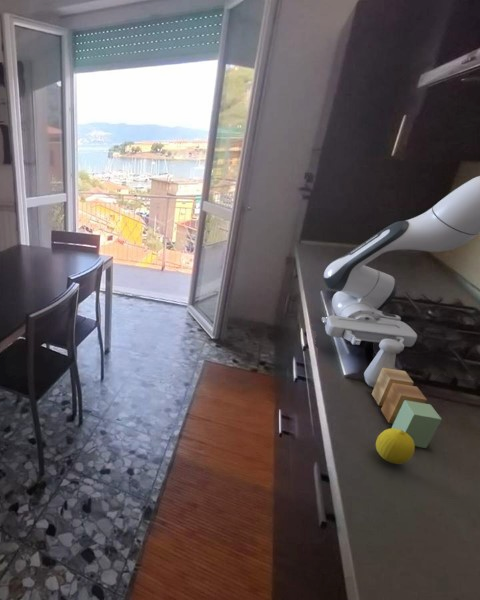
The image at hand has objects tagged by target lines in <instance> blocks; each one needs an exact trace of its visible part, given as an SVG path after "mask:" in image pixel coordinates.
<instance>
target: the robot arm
mask: <svg viewBox="0 0 480 600" xmlns="http://www.w3.org/2000/svg"><path fill="white" fill-rule="evenodd" d="M479 234H480V175H478V176H476V177H473V178H471V179H470V180H468V181H465V182H464V183H463V184H461V185H460V186H458V187H456V188H455V189H454V190H452V191H451V192H449V193H448V194H447V195H445V196H444V197H443V198H441V200H439V201H438V202H437V203H436V204H434V205H433V206H432V207H430V208H429V209H427V210H426V211H425V212H423V213H421V214H419V215H417V216H414V217H412V218H410V219H406V220H400V221H396V222H393V223H392V224H390V225H388V226H386V227H385V228H383V229H382V230H380V231H379V232H377V233H376V234H374V235H373V236H371V237H369V239H366V240H365V241H364V242H362V243H360V245H358V246H357V247H355V248H354V249H352V250H351V251H348V252H347V253H346V254H344V255H342V256H340V257H338V258H337V259H335V260H333V261H331V262H330V263H329V264H328V265H327V266H326V268H324V271H323V273H322V277H323V282H324V283H325V285H326V287H327V288H328V289H331V290H333V291H336V292H335V293H334V294H333V296H332V298H331V307H332V310H333V312H334V314H335V315H326V316H322V317H321V322H322V323H323V324H324V329H325V333H326V335H328V336H330V337H333V338H340V339H344V340H346V341H348V342H350V343H351V345H354V346H355V345H356V346H360V345H361V343H362V342H369V343H377V344H380V342H381V341H382V340H383V339H393V340H396V341H398V342H400V343H401V344H402V346H403V348H402V350H401V352H404V349H405V347H406V348H412V347H413V346H414V345H415V344H416V341H417V338H418V334H417V333H416V332H415V330H414V329H413V328H412V327H411V326H409V325H408V323H405V321H402V317H401V316H400V315H397V314H394V313H390V312H385V311H383V310H381V309H382V308H384V307H386V306H387V305H389V304H390V302H391V301H392V300H393V299H394V298H395V296H396V294H397V290H398V289H397V287H398V286H397V281H396V279H395V277H394V276H393V275H390V274H388V273H386V272H383V271H381V270H378V269H375V268H372V267H370V266H367V264H368V263H370V262H372V261H373V260H375V259H377V258H378V257H379V256H381V255H383V254H385V253H387V252H391V251H399V250H404V251H405V250H407V251H409V250H410V251H421V252H429V253H441V252H447V251H452V250H455V249H458V248H460V247H462V246H463V245H465V244H467V243H468V242H470V241H471V240H473V239H474V238H475V237H477V236H478V235H479Z"/></svg>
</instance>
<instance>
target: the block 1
mask: <svg viewBox="0 0 480 600" xmlns="http://www.w3.org/2000/svg"><path fill="white" fill-rule="evenodd" d="M393 383H397V384H403V385H409V386H414V383H415V381H413V379H412V378H411V376H410V375H409V374H408V373H407V371H406V370H402V369H401V370H400V369H396V368H394V369H388V368H382V370H381V372H380V375H379V377H378V380H377V382H376V384H375V387H373V389H372V391H371V392H372V393H371V395H372V397H373V398H374V400H375V402H376V404H377V405H378V406H380V407H382V406H383V404H384V402H385V399H386V397H387V395H388V393H389V390H390V388H391V386H392V384H393Z"/></svg>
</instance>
